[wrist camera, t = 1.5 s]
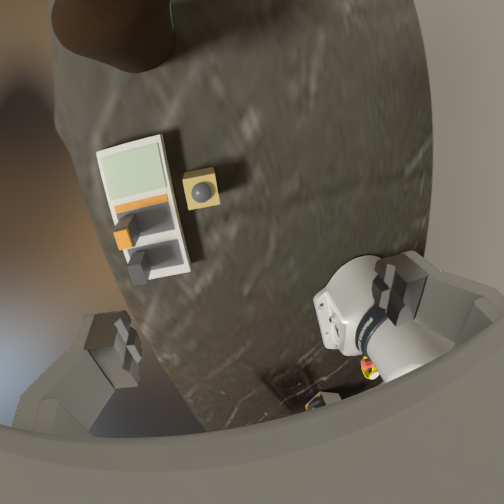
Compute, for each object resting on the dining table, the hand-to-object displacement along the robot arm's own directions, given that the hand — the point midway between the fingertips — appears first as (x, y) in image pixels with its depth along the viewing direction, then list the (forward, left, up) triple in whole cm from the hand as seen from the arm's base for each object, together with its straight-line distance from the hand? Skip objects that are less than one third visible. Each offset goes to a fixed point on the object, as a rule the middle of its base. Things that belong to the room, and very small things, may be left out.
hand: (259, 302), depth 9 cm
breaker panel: (-5, +11, -32) cm, 34 cm away
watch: (-51, -28, -32) cm, 67 cm away
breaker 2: (-12, +13, -30) cm, 34 cm away
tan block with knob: (-3, +2, -32) cm, 32 cm away
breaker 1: (-6, +13, -30) cm, 33 cm away
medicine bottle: (-64, -17, -32) cm, 74 cm away
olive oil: (+19, +7, -32) cm, 38 cm away
